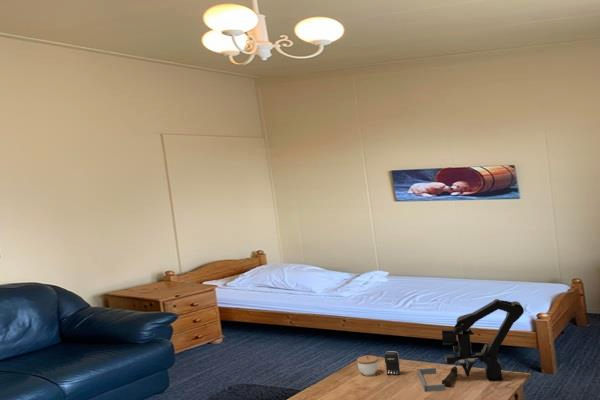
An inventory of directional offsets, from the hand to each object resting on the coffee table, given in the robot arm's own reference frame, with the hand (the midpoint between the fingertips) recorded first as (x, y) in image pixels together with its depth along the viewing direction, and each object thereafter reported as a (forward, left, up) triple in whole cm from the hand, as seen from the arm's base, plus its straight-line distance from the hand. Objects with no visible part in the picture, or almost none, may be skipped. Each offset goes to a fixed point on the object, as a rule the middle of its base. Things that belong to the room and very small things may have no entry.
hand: (467, 375), depth 280 cm
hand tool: (+8, 0, -2) cm, 8 cm away
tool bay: (+17, 0, -2) cm, 17 cm away
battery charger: (+34, -14, -2) cm, 37 cm away
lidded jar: (+46, -18, -2) cm, 49 cm away
